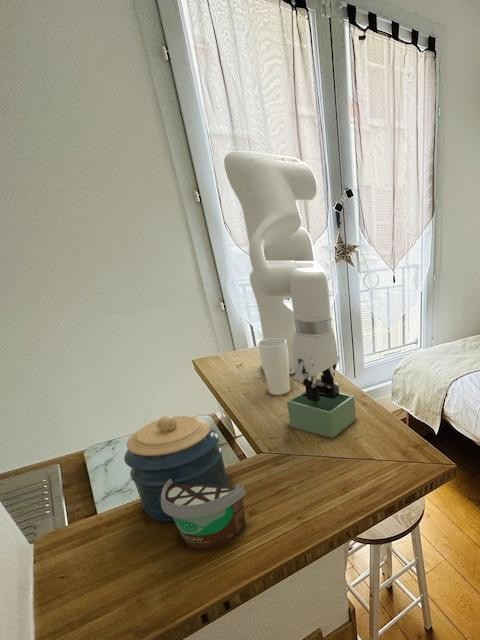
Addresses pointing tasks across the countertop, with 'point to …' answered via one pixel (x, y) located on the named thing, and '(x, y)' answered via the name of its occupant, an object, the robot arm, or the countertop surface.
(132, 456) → the canister
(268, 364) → the drinking glass
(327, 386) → the wireless earbuds
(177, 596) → the countertop surface
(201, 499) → the food container
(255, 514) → the countertop surface
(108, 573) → the countertop surface
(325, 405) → the bin
